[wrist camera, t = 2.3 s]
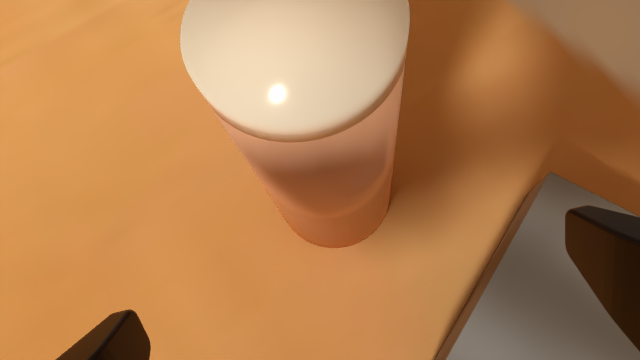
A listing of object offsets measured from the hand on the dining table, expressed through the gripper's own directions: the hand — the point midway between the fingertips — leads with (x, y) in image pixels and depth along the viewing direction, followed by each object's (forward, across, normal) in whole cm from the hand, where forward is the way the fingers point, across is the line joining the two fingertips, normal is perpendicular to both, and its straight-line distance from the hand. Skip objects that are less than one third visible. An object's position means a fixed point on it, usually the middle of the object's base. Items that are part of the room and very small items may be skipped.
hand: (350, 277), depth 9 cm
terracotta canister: (+13, 0, +4) cm, 14 cm away
